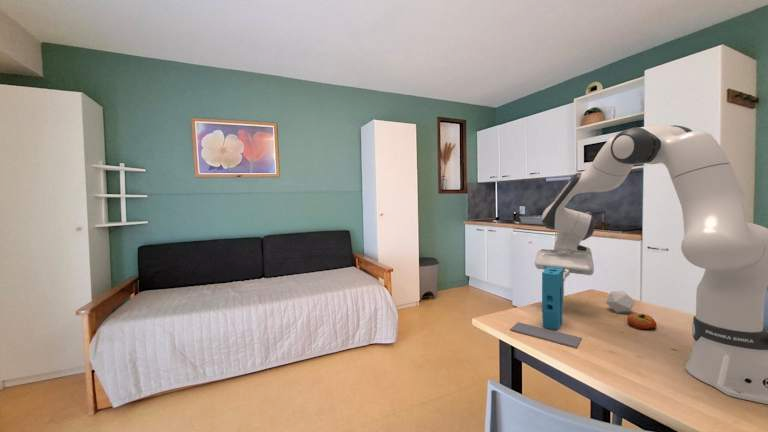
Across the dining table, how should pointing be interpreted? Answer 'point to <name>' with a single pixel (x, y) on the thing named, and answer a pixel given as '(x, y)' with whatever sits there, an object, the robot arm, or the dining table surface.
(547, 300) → the block
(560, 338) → the mat
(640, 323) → the tomato
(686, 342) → the dining table surface
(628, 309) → the die
